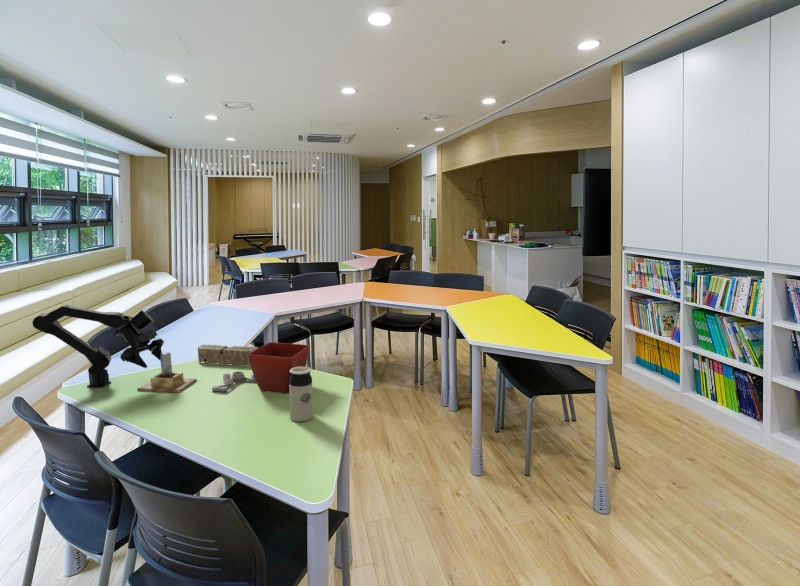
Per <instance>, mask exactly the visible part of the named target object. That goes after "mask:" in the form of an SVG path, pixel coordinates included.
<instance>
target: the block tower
mask: <svg viewBox="0 0 800 586" xmlns="http://www.w3.org/2000/svg"><path fill="white" fill-rule="evenodd" d="M258 348H259V346H239V345H237V346H236V345H233V346H231V347H229V346H228V345H218V344H205V343H204V344H202V345H199V346H198V347H197V355H198V363H199V362H206V361H207V362H206V364H207V363H219V364H218V365H221V364H232V365H231V366H238V365H248V366H247V367H250V366H251V365H250V361H249V356H248V354H249V353H251V352H253V351H254V350H256V349H258ZM249 365H250V366H249Z"/></svg>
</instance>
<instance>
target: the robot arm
mask: <svg viewBox="0 0 800 586" xmlns="http://www.w3.org/2000/svg"><path fill="white" fill-rule="evenodd" d="M63 317H71V318H74V319H81V320H86V321H92V322H97V323H100V324H101V325H104V326H106V327H110V328H112V329H114V333H113V335H115V336H118V337H119V336H122V338H123V339H124V340H125V341H126V343H125V345H126V346H127V348H126V347H125V349H124V350H123V352H122V353H121V354H120V360H122V362H126V363H128V362H129V363H131V364H135V365H137V366H139V367H141V368H143V369H148V365H147V364H146V362H145V360H144V359H143V358H142V356H141V354H140V353H142V352H145V351H149V352H150V354H151V355H152V356H154V357H156V359H158V361H160V362H161V360H160V354H161V353H163V351H162V347H163V346H164V343H165V341H164V340H163V339H162V338H156V336H157V335H158V333H157V331H156V330H155V329H154V328H153V329H150V330H148V331H147V332H145V333H143V332H142V333H140V332H139V331H138V330H144V329H145V328H147V327H148V326H150V325H151V324H152V323H154V322H155V321H154V319H153V317H151V315H150V314H148V313H147V312H146V311H144V310H143V309H141V310H139V311H138V313H137V314H135V315H134V316H129V315H125V314H123V313H121V312H120V311H119V312H118V311H97V310H93V309H87V308H82V307H77V306H71V305H69V304H63V305H61V306H60V307H59V308H56V309H54V310H52V311H50V312H43V313H40V314H38V315H37V316H36V317H34V318H33V320H32V327H33V328H34V329H36V330H38V331H40V332H42V333H45V334H48V335H51V336H52V335H53V337H56V338H57V339H59V340H60V341H62V342H63V343H65V344H66V345H67V346H69V347H71V348H73V349H74V350H75V351H77V352H79V353H80V354H82V355H83V356H84V357H85V358H86V359H87V361H88V362H89V363H91V364H90V366H89V367H88V369H87V372H88V382H89V384H87V385H86V387H88V388H103V387H104V386H106V385H108V384H111V383H112V380H111V381H110V376H109V373H108V371H109V370H108V369H106V368H107V367H109V365H110V363H111V361H112V355H111V353H110V351H109V350H106V349H105V348H104V347H103V346H99V348H98V347H97V348H96V347H93V346H92V345H91V344H89V343H87V342H86V341H85V340H83V339H82V338H80V337H78V336H77V335H75V334H74V333H73V332H71V331H70V330H67V329H66V328H65V327H63V326H62V325H61V323H60V322H59V320H60V319H62V318H63ZM128 346H130V347H128Z"/></svg>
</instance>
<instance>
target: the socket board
mask: <svg viewBox="0 0 800 586" xmlns="http://www.w3.org/2000/svg"><path fill="white" fill-rule="evenodd" d="M197 381H198V379H197V378H192V377H191V378H187V377H186V378H185V377H184V372H180V371H179V372H178V371H172V377H171V378H162V372H161V373H160V372H159V373H158V374H157V375H154V376H153V377H151V378H150V381H148V382H146V383H144V384H143V385H141V386H139V387H137V388H136V390H142V391H141V392H156V391H157V393H158V392H159V393H160V392H161V393H181V392H183V391H184V390H185V389H186V388H189V387H190V386H191V385H193V384H194V383H196V382H197Z"/></svg>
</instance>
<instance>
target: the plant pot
mask: <svg viewBox="0 0 800 586" xmlns="http://www.w3.org/2000/svg"><path fill="white" fill-rule="evenodd" d="M309 350H310V345H308V344H301V343H300V344H298V343H284V342H273V341H270V342H267V343H265V344H264V345H262V346H260V347H258V349H256V350H254V351H253V352H251V353H249V354H248V356H249V361H250V369H251V372H252V375H254V377H255V380H256V382H257V383H256V385H257V386H258V388H259V390H260V392H267V393H277V394H285V395H287V394H290V392H289V378H290V376H291V373H290V369H292V368H295V367H307V363H308V362H307V361H308V357H309Z"/></svg>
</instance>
